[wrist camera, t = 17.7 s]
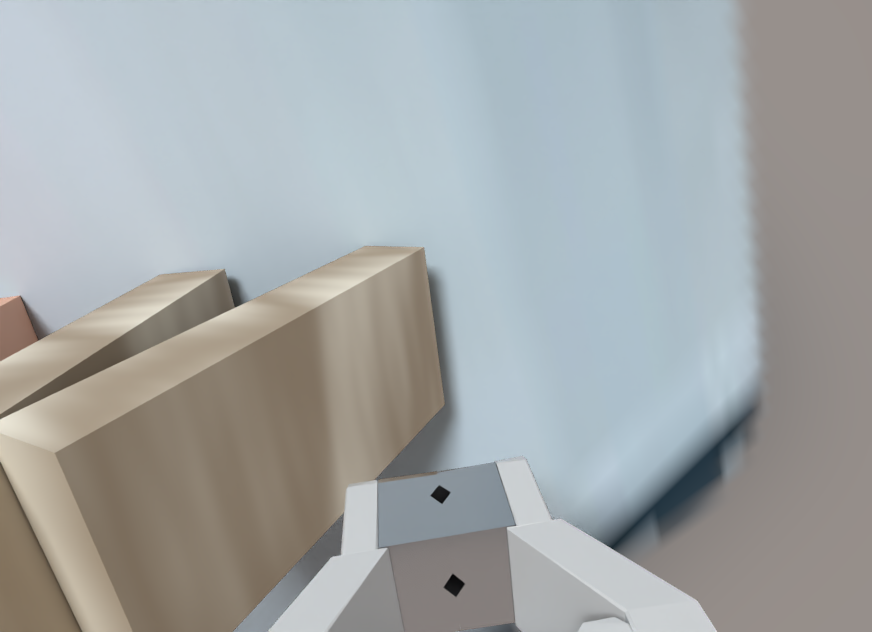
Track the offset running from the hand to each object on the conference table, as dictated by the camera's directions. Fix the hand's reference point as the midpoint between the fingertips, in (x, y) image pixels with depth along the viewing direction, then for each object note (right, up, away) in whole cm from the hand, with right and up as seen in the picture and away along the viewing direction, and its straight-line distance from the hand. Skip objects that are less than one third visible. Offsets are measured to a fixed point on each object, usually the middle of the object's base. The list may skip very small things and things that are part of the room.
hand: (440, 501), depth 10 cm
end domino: (-1, +3, +7) cm, 8 cm away
